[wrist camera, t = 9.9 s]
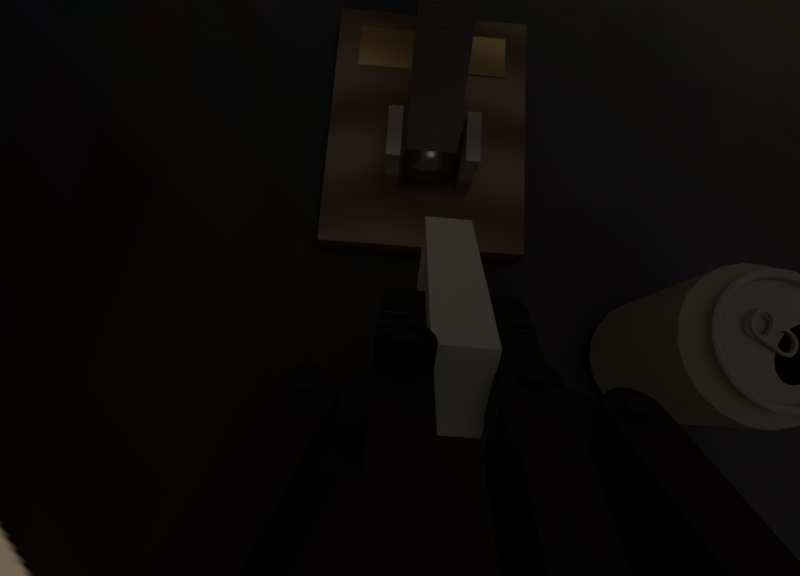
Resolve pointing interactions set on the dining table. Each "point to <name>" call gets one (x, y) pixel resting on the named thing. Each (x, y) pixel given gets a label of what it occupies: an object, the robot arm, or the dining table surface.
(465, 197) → the press base
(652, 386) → the can
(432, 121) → the lever
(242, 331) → the dining table surface
